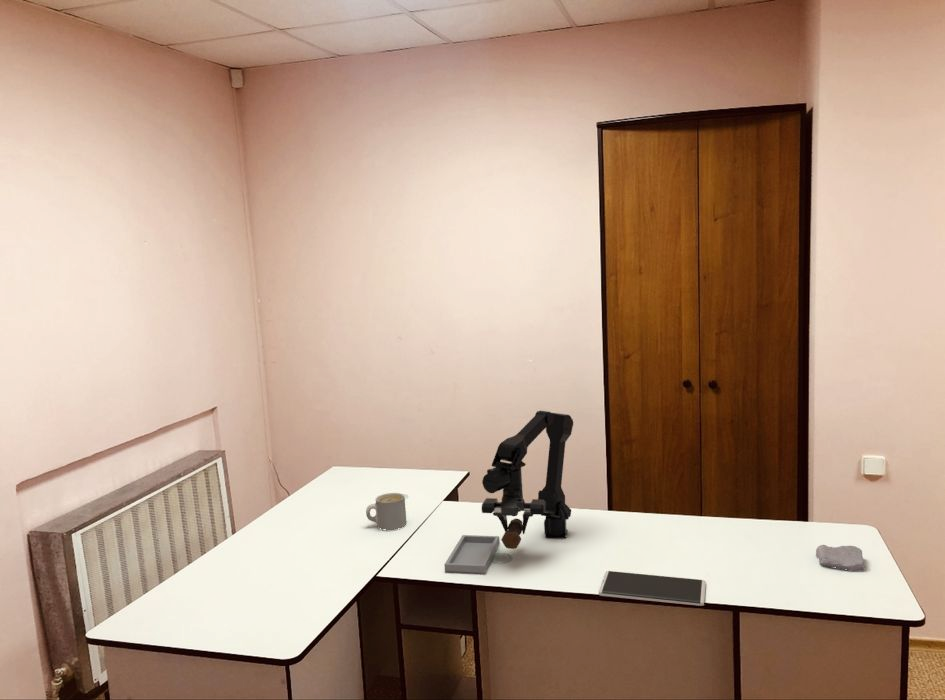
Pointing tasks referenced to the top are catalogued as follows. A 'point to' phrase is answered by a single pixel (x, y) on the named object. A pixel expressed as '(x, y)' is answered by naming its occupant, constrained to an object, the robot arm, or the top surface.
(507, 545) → the bolt
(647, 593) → the smartphone
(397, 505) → the coffee mug
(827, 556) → the stone block
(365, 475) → the top surface
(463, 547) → the parts tray
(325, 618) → the top surface
